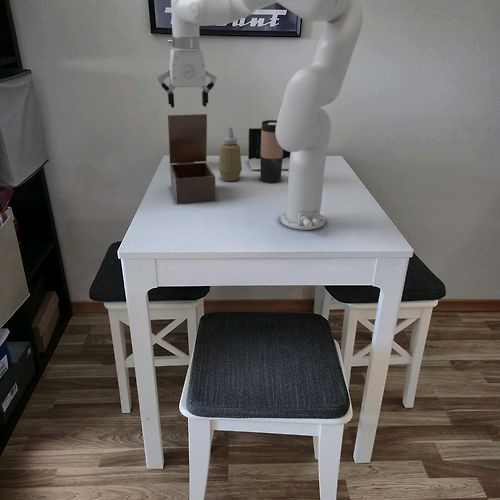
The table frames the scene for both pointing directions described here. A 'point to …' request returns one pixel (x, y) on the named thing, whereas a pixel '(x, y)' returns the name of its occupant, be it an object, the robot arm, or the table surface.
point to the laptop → (255, 149)
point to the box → (192, 182)
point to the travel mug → (270, 153)
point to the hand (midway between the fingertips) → (188, 106)
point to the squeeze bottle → (230, 158)
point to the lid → (187, 138)
